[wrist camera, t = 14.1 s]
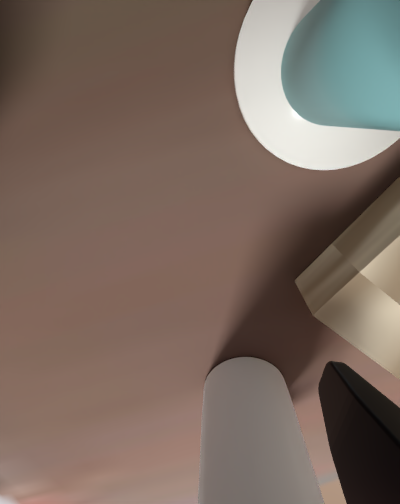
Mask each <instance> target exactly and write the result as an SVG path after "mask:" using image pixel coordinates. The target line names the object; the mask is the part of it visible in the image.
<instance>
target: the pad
mask: <svg viewBox="0 0 400 504" xmlns="http://www.w3.org/2000/svg"><path fill="white" fill-rule="evenodd" d="M319 1H320V0H253V1H252V3H251V5H250V7H249V9H248V12H247V14H246V16H245V18H244V21H243V24H242V27H241V30H240V33H239V36H238V41H237V45H236V50H235V58H234V86H235V93H236V98H237V102H238V105H239V109H240V111H241V114H242V116H243V119H244V121H245V123H246V124H247V126H248V128H249V130H250V131H251V133H252V134H253V135H254V137H255V138H256V139H257V140H258V141H259V142H260V143H261V144H262V145H263V146H264V147H265V148H266V149H267V150H268V151H270V152H271V153H272V154H274V155H275V156H277V157H278V158H280V159H282V160H284V161H286V162H288V163H290V164H293V165H296V166H298V167H303V168H307V169H314V170H334V169H340V168H345V167H349V166H353V165H356V164H359V163H361V162H364V161H366V160H368V159H370V158H372V157H374V156H376V155H377V154H379V153H381V152H382V151H384V150H385V149H387V148H388V147H389V146H391V145H392V144H393V143H395V142H396V141H397V140H398V139H399V138H400V131H389V130H376V129H362V128H349V127H335V126H322V125H317V124H314V123H311V122H309V121H307V120H305V119H303V118H302V117H301V116H299V115H298V114H297V113H296V112H295V111H294V110H293V108H292V107H291V106H290V104H289V102H288V100H287V99H286V96H285V94H284V91H283V87H282V81H281V64H282V57H283V53H284V50H285V47H286V44H287V42H288V40H289V38H290V36H291V34H292V32H293V31H294V29H295V28H296V26H297V25H298V24H299V22H300V21H301V20H302V19H303V18H304V17H305V16H306V15H307V14H308V13H309V11H310V10H311V9H312V8H313V7H314V6H315V5H316V4H317V3H318V2H319Z"/></svg>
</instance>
